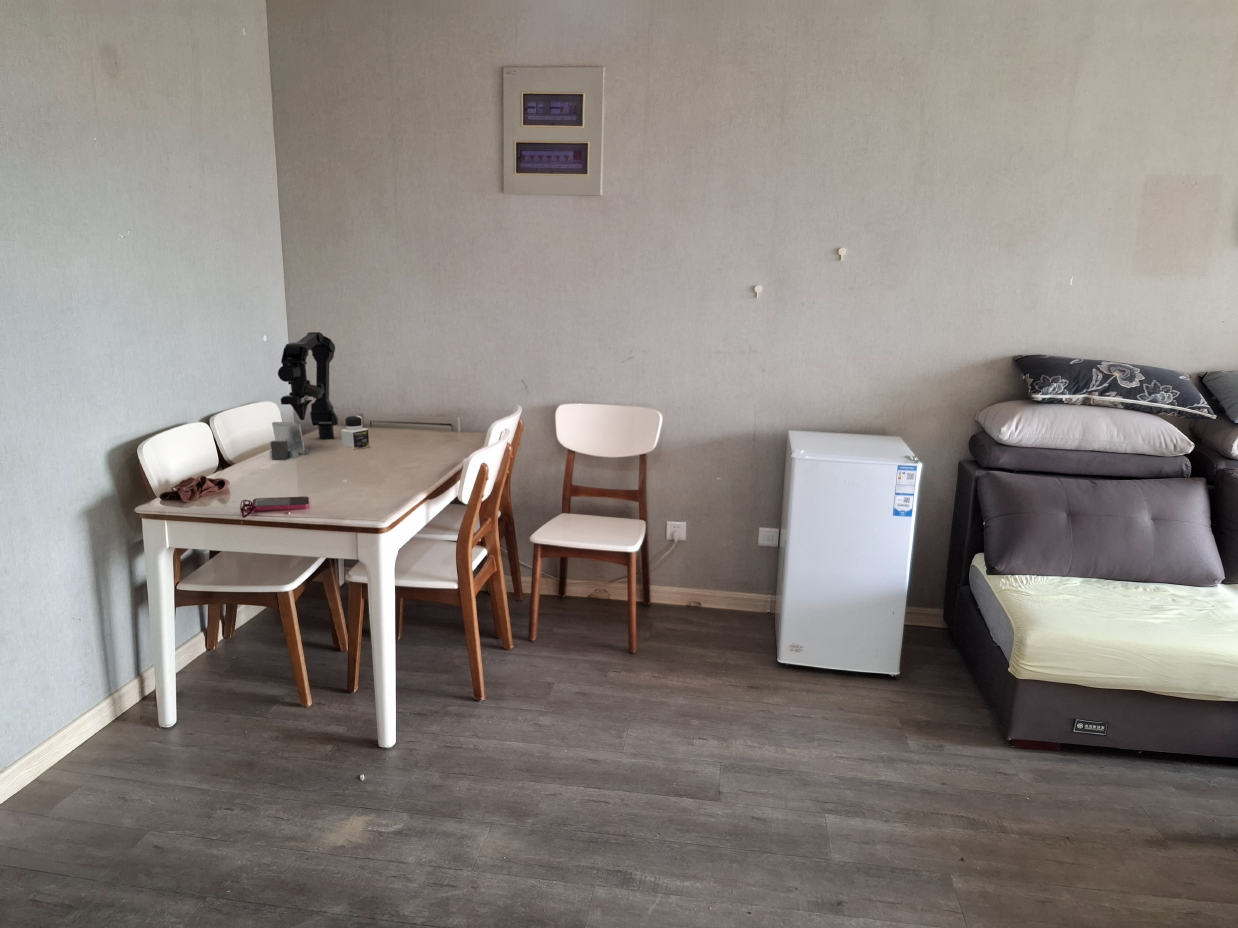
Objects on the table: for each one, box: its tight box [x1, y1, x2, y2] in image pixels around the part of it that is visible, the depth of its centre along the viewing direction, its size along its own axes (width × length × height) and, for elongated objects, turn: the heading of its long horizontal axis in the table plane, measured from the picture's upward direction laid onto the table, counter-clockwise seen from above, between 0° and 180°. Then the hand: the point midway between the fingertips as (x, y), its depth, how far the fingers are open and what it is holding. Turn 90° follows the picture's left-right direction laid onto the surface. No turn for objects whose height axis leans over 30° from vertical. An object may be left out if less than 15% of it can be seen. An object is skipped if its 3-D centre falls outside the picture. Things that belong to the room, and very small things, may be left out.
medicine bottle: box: [340, 415, 370, 451], centre depth 316 cm, size 7×7×12 cm
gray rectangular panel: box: [271, 421, 306, 455], centre depth 300 cm, size 12×10×1 cm
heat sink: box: [269, 440, 310, 461], centre depth 297 cm, size 10×13×7 cm
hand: (302, 419), depth 308 cm, fingers closed
